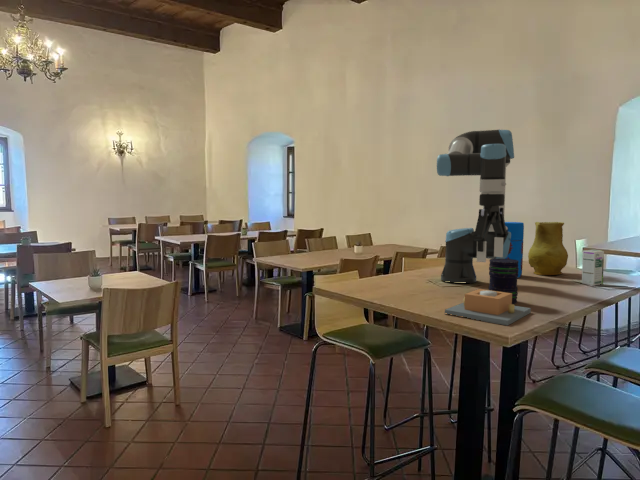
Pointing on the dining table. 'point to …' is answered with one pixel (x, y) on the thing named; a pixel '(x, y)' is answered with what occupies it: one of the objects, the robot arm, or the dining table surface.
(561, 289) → the dining table surface
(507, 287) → the storage jar
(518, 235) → the thermos
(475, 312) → the post board
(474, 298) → the square frame
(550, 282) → the dining table surface
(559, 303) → the dining table surface
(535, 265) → the yellow rounded vessel
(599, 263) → the syrup box
